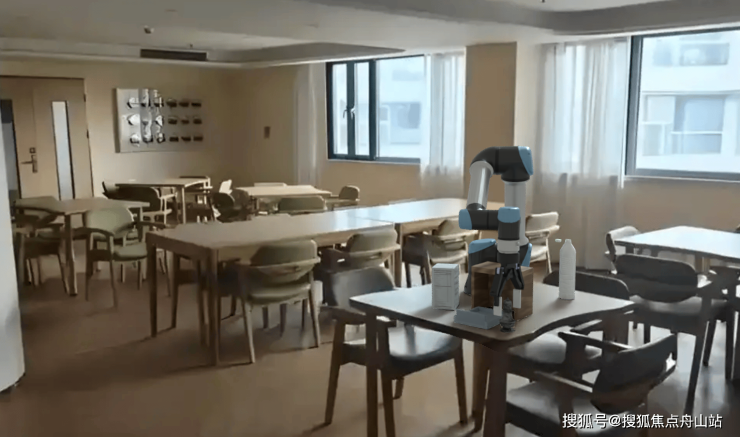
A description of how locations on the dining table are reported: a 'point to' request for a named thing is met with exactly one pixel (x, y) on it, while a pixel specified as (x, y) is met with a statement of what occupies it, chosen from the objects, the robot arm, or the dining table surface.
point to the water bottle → (567, 270)
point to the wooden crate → (483, 284)
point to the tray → (477, 317)
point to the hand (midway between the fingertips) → (507, 311)
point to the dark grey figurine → (507, 317)
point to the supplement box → (445, 286)
